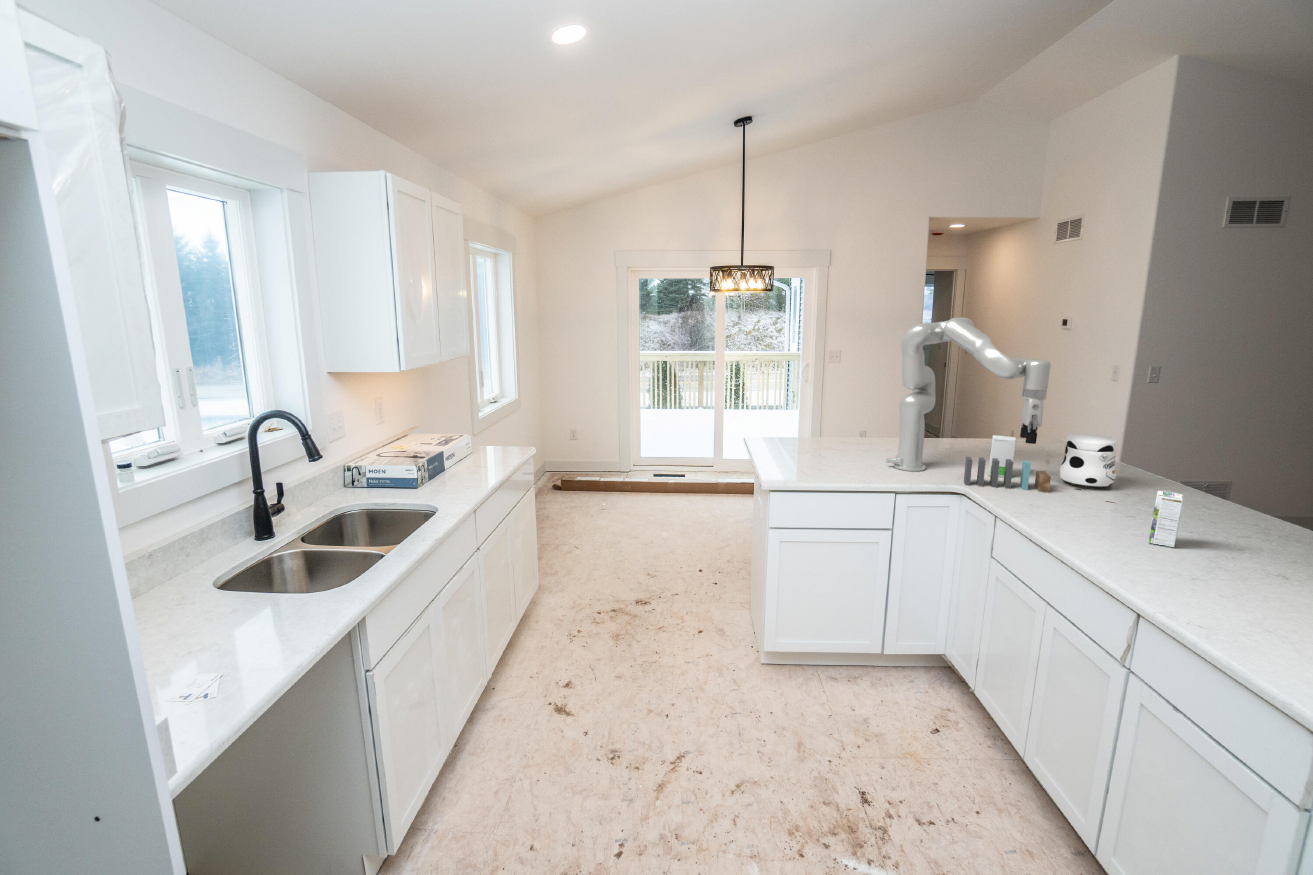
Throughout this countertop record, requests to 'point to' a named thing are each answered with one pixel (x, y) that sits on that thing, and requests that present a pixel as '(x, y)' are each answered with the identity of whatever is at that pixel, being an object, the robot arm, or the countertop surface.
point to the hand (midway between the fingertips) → (1027, 440)
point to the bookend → (1042, 481)
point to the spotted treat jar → (1089, 461)
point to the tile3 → (994, 472)
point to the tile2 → (981, 471)
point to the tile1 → (967, 470)
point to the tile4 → (1008, 473)
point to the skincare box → (1002, 452)
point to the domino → (1025, 474)
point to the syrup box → (1166, 518)
